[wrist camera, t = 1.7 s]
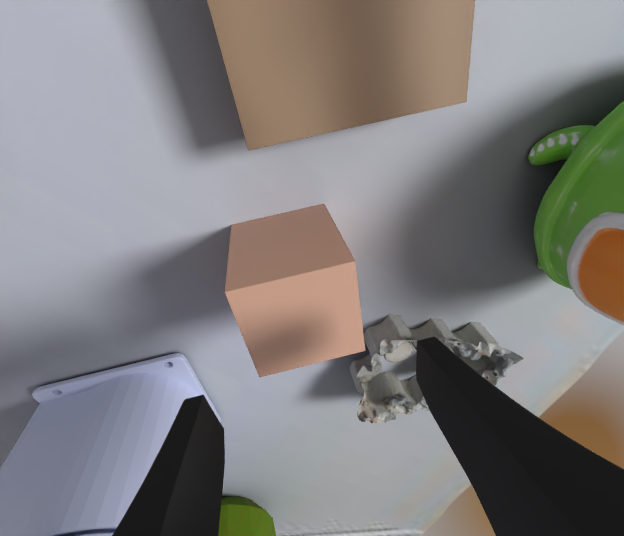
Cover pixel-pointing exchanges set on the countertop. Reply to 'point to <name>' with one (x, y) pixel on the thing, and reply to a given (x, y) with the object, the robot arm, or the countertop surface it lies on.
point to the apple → (244, 518)
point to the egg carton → (407, 394)
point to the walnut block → (340, 62)
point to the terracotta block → (294, 290)
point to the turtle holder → (585, 213)
